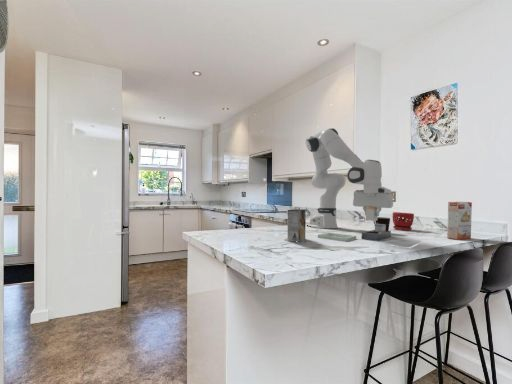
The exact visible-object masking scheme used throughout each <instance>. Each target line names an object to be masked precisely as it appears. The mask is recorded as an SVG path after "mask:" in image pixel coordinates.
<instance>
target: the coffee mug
mask: <svg viewBox="0 0 512 384" xmlns="http://www.w3.org/2000/svg"><path fill="white" fill-rule="evenodd" d="M390 223H391V217H385V216H383V217H381V216H378V217H377V220H376V221H373V224H374V225H375V224H386V230H388V231H390Z"/></svg>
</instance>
